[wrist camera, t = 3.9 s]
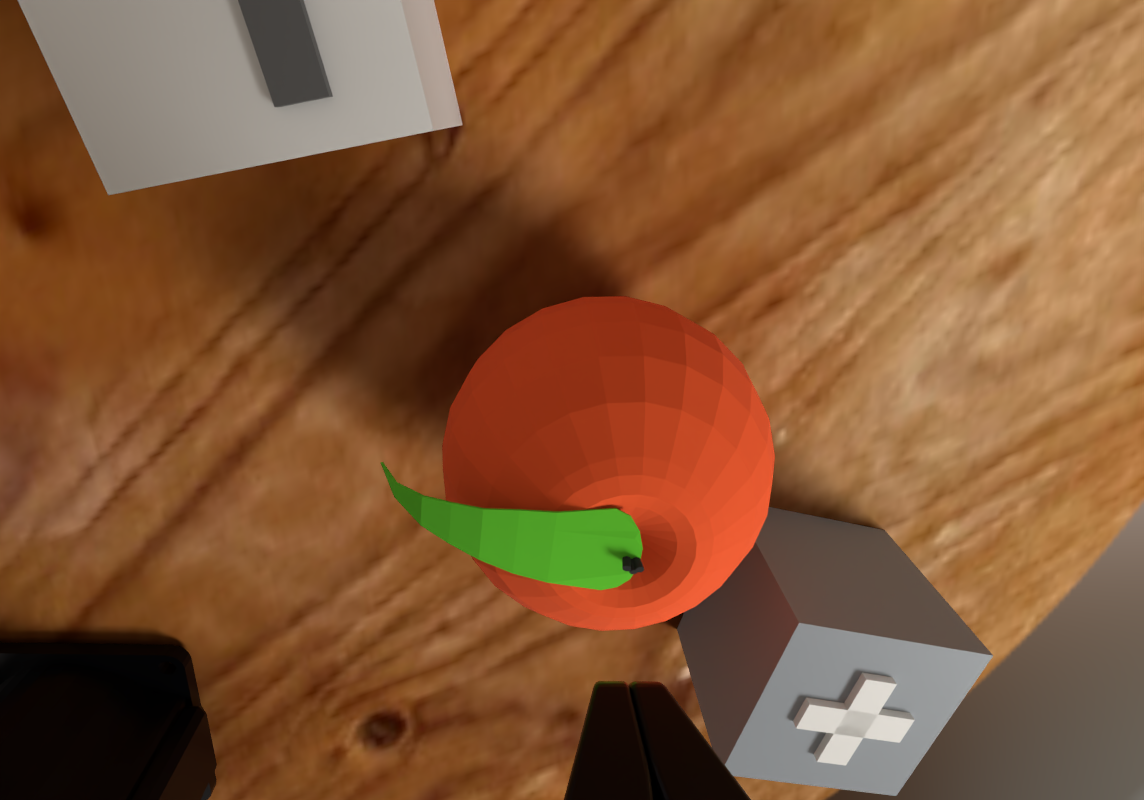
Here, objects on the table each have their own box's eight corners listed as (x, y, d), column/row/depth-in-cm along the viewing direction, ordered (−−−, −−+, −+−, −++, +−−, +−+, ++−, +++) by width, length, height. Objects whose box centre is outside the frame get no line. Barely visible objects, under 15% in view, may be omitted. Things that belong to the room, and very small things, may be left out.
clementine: (412, 493, 18) (347, 711, 11) (421, 241, 15) (341, 338, 8) (691, 514, 19) (780, 726, 12) (748, 280, 16) (901, 393, 9)
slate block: (676, 627, 20) (721, 781, 16) (731, 498, 19) (802, 629, 14) (816, 650, 21) (900, 803, 17) (883, 528, 19) (998, 662, 15)
